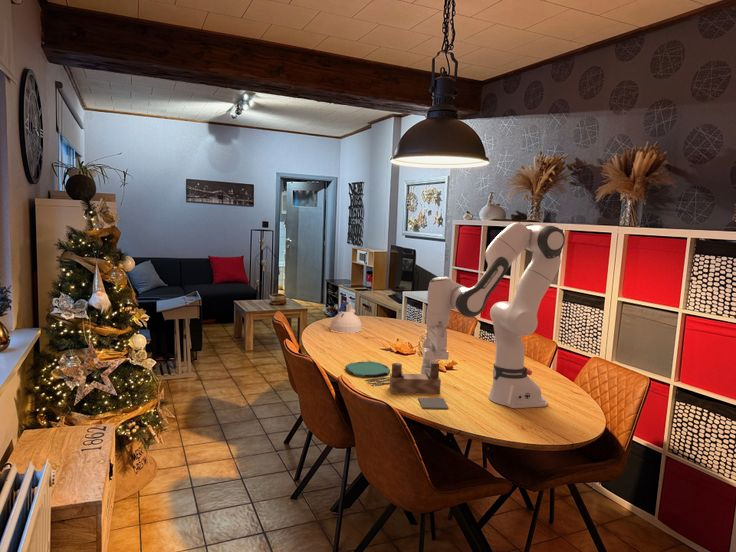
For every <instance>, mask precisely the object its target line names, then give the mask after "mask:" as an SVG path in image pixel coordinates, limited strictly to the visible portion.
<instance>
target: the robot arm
mask: <svg viewBox="0 0 736 552" xmlns="http://www.w3.org/2000/svg"><path fill="white" fill-rule="evenodd" d="M565 235H566V234H565V233H564V231H563V230H562V229H561V228H559V227H557V226H555V225H554V226H553V225H548V224H543V223H541V224H540V223H539V224H534V223H533V224H525V225H524V224H522V223H520V222H512V223H511V224H509V225H508V226H506V227H505V228H504V229H503V230H501V232H499V234H497V236H495V237H494V239H493V240H492V241H491V242H490V244H489V245H488V246H487V248H486V250H485V253H484V257H485V258H484V259H485V261H486V263H487V268H486V271H485V272H484V273H483V275H482V276H481V277H480V278H479V280H477V282H476V284H475V285H473V286H472V287H467V286H465V285H463V284H460V283H458V282H455V281H454V280H452V279H451V278H450V277H449V276H435V277H433V278H432V279H431V280H430V281H429V284H428V288H427V308H426V313H425V323H426V333H427V335H428V338H429V339H430V340H431V344H432V348H433V349H436V350H435V357H436V358H439V357H440V353H441V350H442V349H447V347H448V331H447V327H448V326H449V325H450V319H451V310H455V311H456V312H459V313H460V314H461V315H463V316H464V317H465V318H474V317H477V316H479V315H480V314H481V313H482V312H483V311H484V309H485V307H486V304H487V301H488V299H489V298H490V296H491V294H492V293H493V291H494V290H495V289H496V288H497V286H498V285H499V284H500V282H501V281H502V280H503V278H504V277H505V275H506V273H507V271H508V270H509V268H510V267H511V265H512V264H513V263H514V261H515V260H516V259H517V258H518V256H520V254H521V253H522V252H524V250H525V251H530V252H532V257H531V261H530V263H528V265H527V267H525V270H524V271H523V273H522V275H521V276H520V278H519V280H518V281H517V282H516V285H515V295H514V299H513V301H512V302H510V301H498V302H495V303H494V304H493V305H492V306H491V308H490V311H489V317H490V319H491V321H492V325H493V332H494V339H495V358H494V359H495V360H494V364H493V368H492V378H493V379H492V383H491V388H490V392H489V394H488V400H490V401H492V402H493V403H495V404H498V405H502V406H506V407H509V408H511V409H524V408H538V407H539V408H541V407H547V406H548V401H547V400H546V398H544V396H542V390H541V388H540V386H539V385H538V384H537V383H536V382H535V381H534V380H533V379H531V377H529V376H532V374H533V371H532V370H531V369H530V368H528V367H526V366H525V365H524V364H525V352H526V351H525V350H526V347H525V345H524V342H523V340H522V337H524V336H525V337H527V336H530V335H532V334H533V333H535V331H536V329H537V328H538V326H539V325H538V324H539V323H538V322H539V321H538V312H539V308H540V305H541V302H542V299H543V298H544V296H545V294H546V293H547V291H548V289H549V288H550V286H551V284H552V283H553V281H554V279H555V278H556V276H557V273H558V271H559V268H560V266H561V262H562V261H561V258H560V255H561V253H562V250H563V248H564V245H565V243H566V242H565V241H566V236H565Z"/></svg>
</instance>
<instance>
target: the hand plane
mask: <svg viewBox="0 0 736 552" xmlns="http://www.w3.org/2000/svg"><path fill="white" fill-rule="evenodd" d="M402 365H403V364H402V363H400V362H394V363H391V373H389V377H390V378H389V379H390V380H389V383H390V384H389V390H390V393H391V394H416V393H420V394H424V395H426V394H428V395H429V394H430V395H431V394H432V395H440V394H441V381H442V380H441V378H440V376H439V375H440V373H439V372H440V363H439V361H435V362H431V371H430V374H429V372H426V374H421V373H404V372H403V370H402V369H403V366H402ZM420 394H419V395H420Z"/></svg>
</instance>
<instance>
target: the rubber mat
mask: <svg viewBox="0 0 736 552" xmlns="http://www.w3.org/2000/svg"><path fill="white" fill-rule="evenodd" d="M417 400H418V402H419V405H420V407H421V406H422V407H421V408H422V410H424V409H425V410H449V409H450V408H449V406H448V404H447V402H446V401H445V399H444V398H443V397H418V398H417Z"/></svg>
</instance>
